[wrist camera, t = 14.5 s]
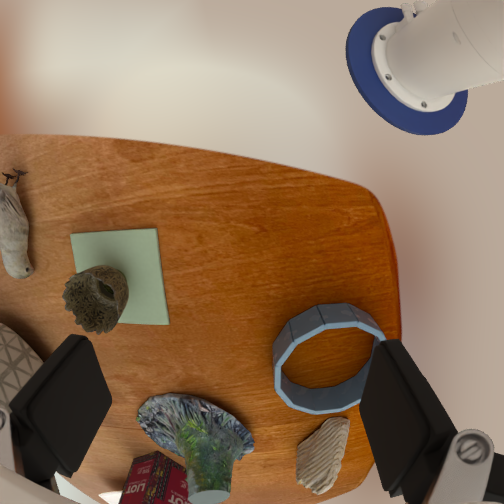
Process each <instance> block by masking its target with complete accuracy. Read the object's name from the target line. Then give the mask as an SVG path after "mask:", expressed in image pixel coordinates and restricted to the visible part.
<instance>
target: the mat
mask: <svg viewBox="0 0 504 504" xmlns="http://www.w3.org/2000/svg"><path fill="white" fill-rule="evenodd" d="M70 237H71V243H72V249H73V255H74V260H75V266H76V271H77V273H79V272H82V271H84V270H86V269H89V268H91V267H94V266H98V265H107V266H111V267H113V268H115V269H118V270H120V271H122V272H123V273H124V275H125V276H126V279H127V284H128V288H129V298H128V302H127V305H126V307H125V309H124V311H123V313H122V315H121V317H120V319H119V320H118V323H132V324H156V325H169V324H170V320H169V314H168V308H167V302H166V296H165V289H164V282H163V275H162V267H161V259H160V251H159V242H158V233H157V228H146V229H129V230H113V231H98V232H84V233H72V234H70Z"/></svg>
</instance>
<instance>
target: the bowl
mask: <svg viewBox="0 0 504 504" xmlns="http://www.w3.org/2000/svg"><path fill="white" fill-rule="evenodd" d="M122 491H123V490H121V491H113V492H105V493H102V494H99V496H100V497H101V498H102V499H104V500H105V501H106V502H108V503H109V504H118V503H119V500H120V497H121V494H122Z"/></svg>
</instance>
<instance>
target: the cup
mask: <svg viewBox="0 0 504 504" xmlns="http://www.w3.org/2000/svg"><path fill="white" fill-rule="evenodd" d="M69 279H70V281H68V282H67V283H65V286H66V287H67V288H66V289H65V291H64V293H63V295H62V297H63V299H64V301H65V302H66V305H65V309H66V310H67V311H73V315H75V316H76V320H75V323H76V324H77V325H82V328H83V329H84V330H85V331H86V332H93V331H96V333H97V335H99V334H100V333H101V332H102V331H103V330H104V332H105V333H108V332H110V330H112V329H113V328H114V327H115V325H116V324H117V323H118V320H119V319H120V317H121V315H122V313H123V311H124V309H125V307H126V305H127V302H128V298H129V288H128V284H127V279H126V276H125V275H124V273H123V272H122V271H120V270H118V269H115V268H113V267H111V266H107V265H98V266H94V267H91V268H89V269H86V270H84V271H82V272H79V273H77V274H75V275H73V276H71V277H70V278H69Z"/></svg>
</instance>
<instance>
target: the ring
mask: <svg viewBox="0 0 504 504" xmlns="http://www.w3.org/2000/svg"><path fill="white" fill-rule="evenodd" d="M289 321H290V322H289ZM289 321H288V322H287V324H286V325H285V327H284V328H283V329H282V331H281V332H280V334H279V335H278V337H277V338H276V340H275V341H274V343H273V378H274V389H275V391H276V392H277V394H278V395H279V396H280V397H281V398H282V399H283V401H284V402H285V403H286V404H287V405H288V406H289V407H290V408H293V409H297V410H300V411H303V412H306V413H310V414H315V415H317V414H326V413H334V412H341V411H344V410H346V409H348V408H350V407H352V406H354V405H356V404H358V403H360V401H361V397H362V394H363V390H364V387H365V383H366V380H367V376H368V372H369V368H370V364H371V360H372V356H373V352H374V348H375V346H377V345H379V344H380V342H381V341H382V340H386V338H385V336H384V333H383V332H382V331H381V329H380V328H379V326H378V325H377V324H376V322H375V321H374V319H373V318H372V317H371V315H370V314H368V313H366V312H364V311H362V310H360V309H358V308H357V307H355V306H353V305H351V304H349V303H338V304H322V305H317V306H316V305H315V306H314V307H312V308H310V309H308V310H307V311H305V312H303V313H301V314H299V315H297V316H296V317H294V318H292V319H290V320H289ZM346 327H358V328H360V329H362V330H364V331H367V332H369V333H371V334H373V335H374V337H375V338H374V343H373V348H372V353H371V358H370V359H369V360H368V362H367V363H366V364H365V365H364V366H363V368H362V369H361V370H360V371H359V372H358V374H357V375H356V376H354V377H352V378H350V379H349V380H347V381H345V382H343V383H341V384H339V385H337V386H335V387H327V388H317V389H309V388H306V387H303V386H300V385H297V384H295V383H292V382H290V381H289V380H288V378H287V377H286V376H285V374H284V373H283V372H282V370H281V366H282V365H283V363H284V362H285V361H286V359H287V358H288V357H289V355H290V354H291V352H292V351H293V350H294V348H295V347H296V346H297V344H299V343H301V342H303V341H305V340H307V339H309V338H310V337H312V336H314V335H316V334H318V333H320V332H322V331H323V330H325V329H334V328H346Z"/></svg>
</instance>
